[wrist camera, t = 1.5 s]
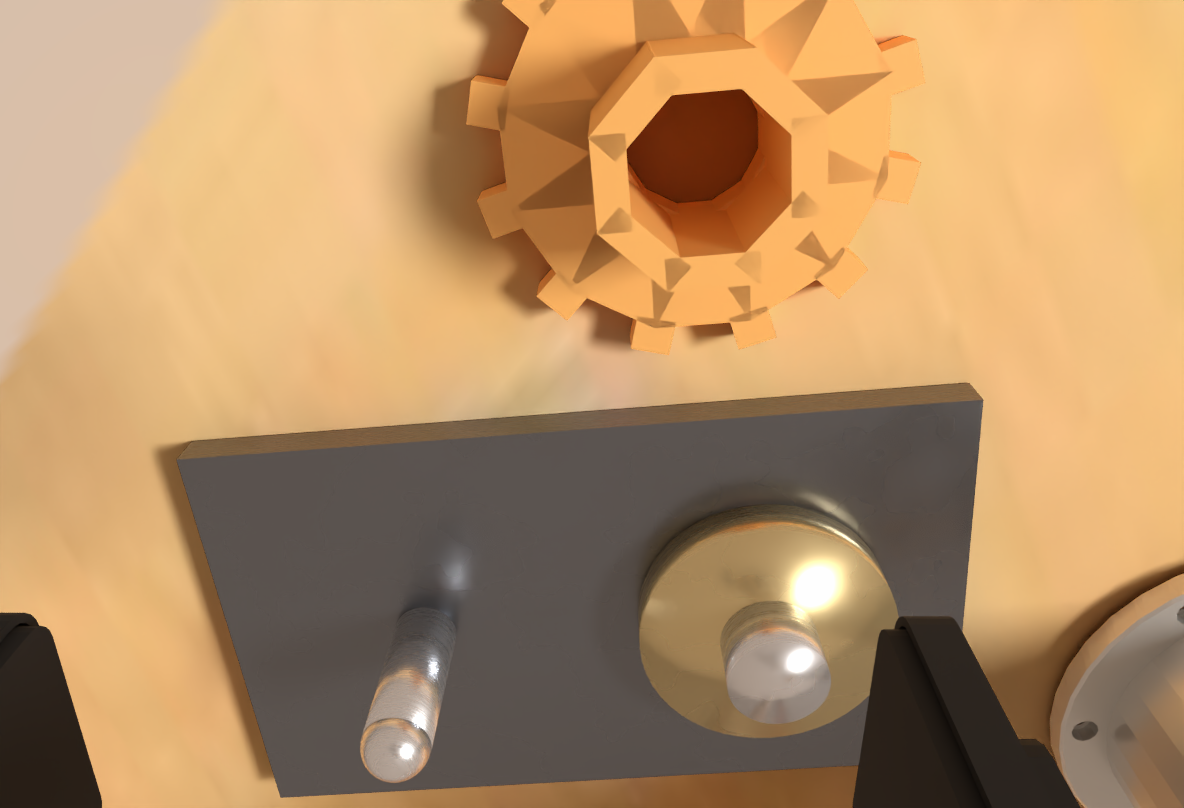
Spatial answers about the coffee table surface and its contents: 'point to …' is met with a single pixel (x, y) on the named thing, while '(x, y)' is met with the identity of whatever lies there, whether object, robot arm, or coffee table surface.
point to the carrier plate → (583, 584)
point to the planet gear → (704, 228)
